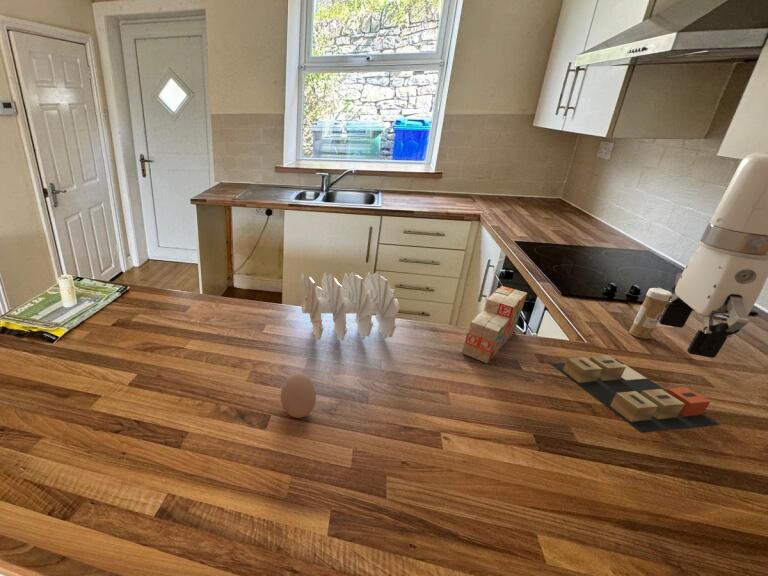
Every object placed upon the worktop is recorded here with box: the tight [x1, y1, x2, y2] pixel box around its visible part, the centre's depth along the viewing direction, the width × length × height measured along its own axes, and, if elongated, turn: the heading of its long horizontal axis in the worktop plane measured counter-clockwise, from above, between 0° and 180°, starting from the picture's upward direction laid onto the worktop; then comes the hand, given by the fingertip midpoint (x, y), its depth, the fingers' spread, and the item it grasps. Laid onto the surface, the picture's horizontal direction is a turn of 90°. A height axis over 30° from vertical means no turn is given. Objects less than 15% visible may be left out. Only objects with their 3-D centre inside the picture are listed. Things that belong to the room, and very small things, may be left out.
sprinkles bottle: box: [628, 287, 672, 340], centre depth 107 cm, size 5×5×13 cm
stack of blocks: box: [461, 285, 528, 364], centre depth 102 cm, size 21×6×12 cm, turn 135°
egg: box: [280, 372, 317, 419], centre depth 78 cm, size 7×7×10 cm
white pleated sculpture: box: [298, 270, 400, 342], centre depth 104 cm, size 18×18×25 cm
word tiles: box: [563, 354, 684, 422], centre depth 86 cm, size 10×16×4 cm, turn 7°
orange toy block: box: [666, 386, 711, 417], centre depth 82 cm, size 4×4×4 cm
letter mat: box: [550, 358, 722, 434], centre depth 87 cm, size 18×22×1 cm
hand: (684, 339), depth 66 cm, fingers open, 9 cm apart
